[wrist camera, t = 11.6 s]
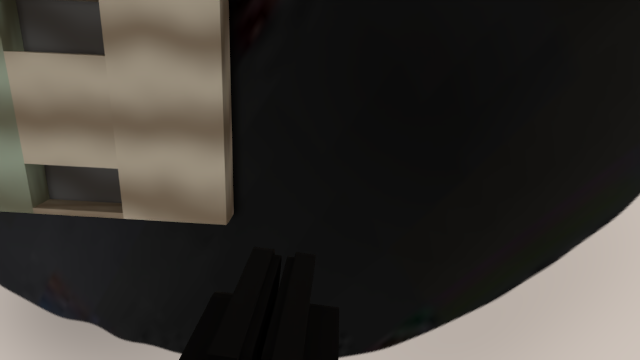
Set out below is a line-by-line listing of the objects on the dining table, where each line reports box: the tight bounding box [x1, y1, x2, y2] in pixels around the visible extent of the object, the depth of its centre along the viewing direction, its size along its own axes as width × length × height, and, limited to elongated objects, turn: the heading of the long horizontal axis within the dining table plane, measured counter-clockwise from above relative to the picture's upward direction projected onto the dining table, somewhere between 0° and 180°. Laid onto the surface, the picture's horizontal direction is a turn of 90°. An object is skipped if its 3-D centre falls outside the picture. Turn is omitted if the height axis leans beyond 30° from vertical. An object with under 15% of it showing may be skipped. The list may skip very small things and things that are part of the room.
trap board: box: [0, 0, 234, 225], centre depth 33 cm, size 18×26×4 cm
